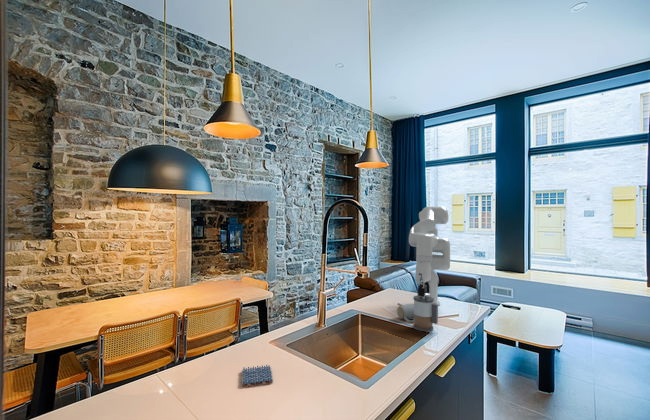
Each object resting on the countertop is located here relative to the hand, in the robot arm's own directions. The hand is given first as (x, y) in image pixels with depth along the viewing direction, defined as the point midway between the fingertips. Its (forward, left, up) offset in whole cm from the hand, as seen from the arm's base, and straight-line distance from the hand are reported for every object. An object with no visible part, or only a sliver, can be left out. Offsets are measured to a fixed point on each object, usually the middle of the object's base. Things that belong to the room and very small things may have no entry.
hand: (423, 294), depth 147 cm
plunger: (0, 0, -8) cm, 8 cm away
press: (0, 0, -17) cm, 17 cm away
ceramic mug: (-6, -11, -17) cm, 21 cm away
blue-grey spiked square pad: (+82, -27, -18) cm, 88 cm away
